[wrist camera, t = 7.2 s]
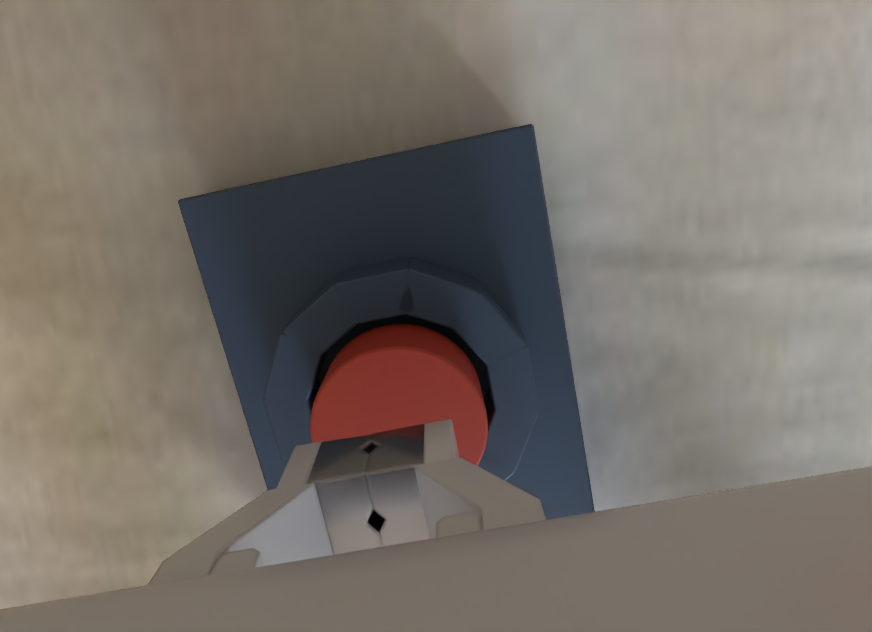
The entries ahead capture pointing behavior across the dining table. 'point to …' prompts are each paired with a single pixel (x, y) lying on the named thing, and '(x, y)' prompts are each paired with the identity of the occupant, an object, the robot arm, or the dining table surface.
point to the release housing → (400, 294)
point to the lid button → (401, 388)
